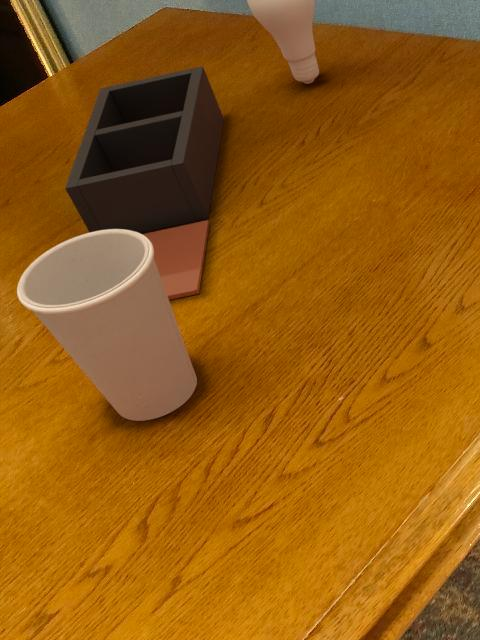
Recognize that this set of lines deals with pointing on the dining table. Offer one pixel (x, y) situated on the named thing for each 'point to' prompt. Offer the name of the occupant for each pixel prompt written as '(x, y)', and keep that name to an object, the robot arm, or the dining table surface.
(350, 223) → the dining table surface
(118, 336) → the dixie cup
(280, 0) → the lightbulb
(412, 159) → the dining table surface
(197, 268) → the coaster
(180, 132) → the divided storage box
